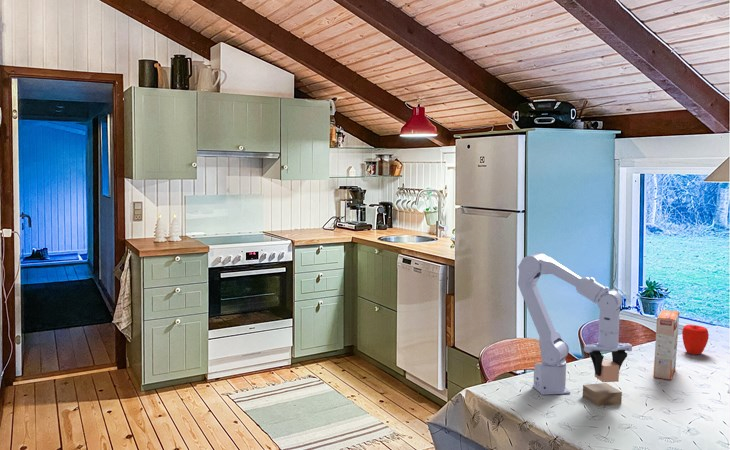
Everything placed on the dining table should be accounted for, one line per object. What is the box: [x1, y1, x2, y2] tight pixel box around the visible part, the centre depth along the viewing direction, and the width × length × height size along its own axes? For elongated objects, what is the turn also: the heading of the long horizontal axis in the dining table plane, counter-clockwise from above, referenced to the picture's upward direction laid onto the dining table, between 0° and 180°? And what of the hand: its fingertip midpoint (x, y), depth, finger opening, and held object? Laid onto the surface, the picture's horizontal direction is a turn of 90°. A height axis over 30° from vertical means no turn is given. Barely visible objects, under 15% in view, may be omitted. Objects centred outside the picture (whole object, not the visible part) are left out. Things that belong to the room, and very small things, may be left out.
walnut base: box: [582, 382, 623, 407], centre depth 191 cm, size 8×8×4 cm
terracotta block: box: [594, 359, 620, 383], centre depth 190 cm, size 5×5×5 cm
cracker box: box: [653, 309, 680, 381], centre depth 214 cm, size 14×6×21 cm, turn 148°
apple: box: [681, 324, 710, 355], centre depth 238 cm, size 9×9×11 cm
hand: (606, 374), depth 190 cm, fingers closed on terracotta block, 5 cm apart
